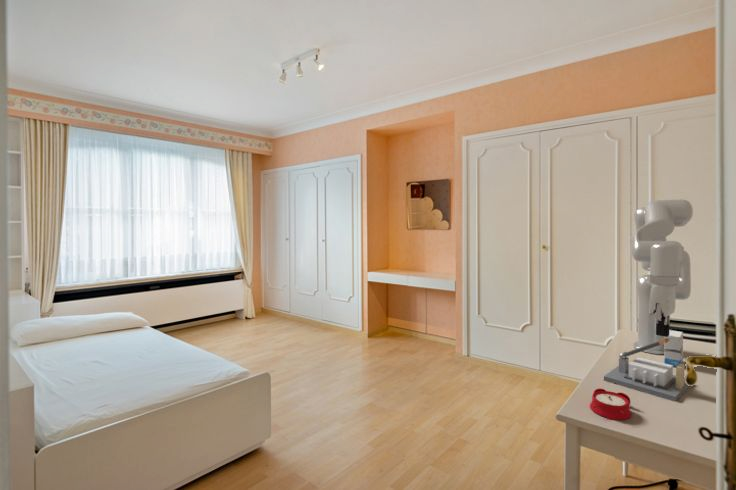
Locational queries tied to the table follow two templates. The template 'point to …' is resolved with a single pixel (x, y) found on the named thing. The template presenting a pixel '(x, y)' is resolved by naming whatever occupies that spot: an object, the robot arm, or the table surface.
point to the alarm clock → (610, 404)
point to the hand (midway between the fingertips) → (662, 335)
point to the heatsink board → (644, 387)
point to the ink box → (674, 348)
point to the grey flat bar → (644, 348)
